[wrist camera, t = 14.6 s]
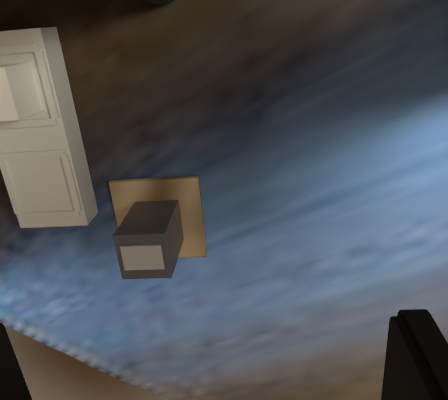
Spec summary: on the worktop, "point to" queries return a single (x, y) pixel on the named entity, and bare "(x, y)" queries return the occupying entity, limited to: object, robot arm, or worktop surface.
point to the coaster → (159, 191)
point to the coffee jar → (159, 1)
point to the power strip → (41, 133)
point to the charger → (149, 240)
